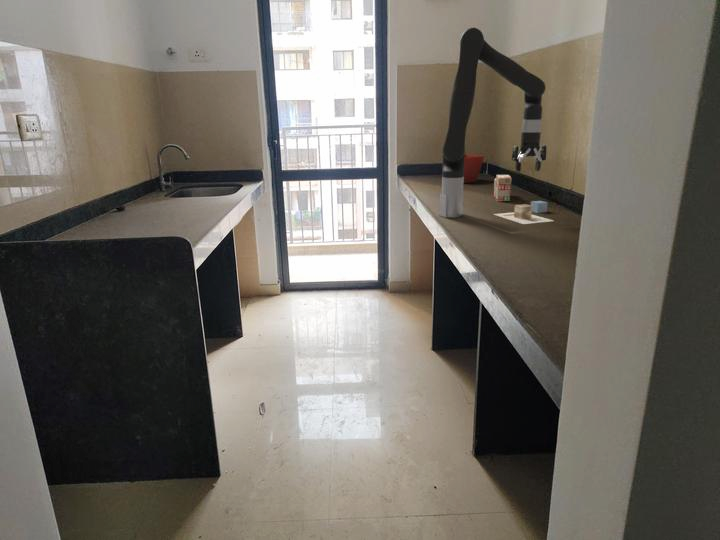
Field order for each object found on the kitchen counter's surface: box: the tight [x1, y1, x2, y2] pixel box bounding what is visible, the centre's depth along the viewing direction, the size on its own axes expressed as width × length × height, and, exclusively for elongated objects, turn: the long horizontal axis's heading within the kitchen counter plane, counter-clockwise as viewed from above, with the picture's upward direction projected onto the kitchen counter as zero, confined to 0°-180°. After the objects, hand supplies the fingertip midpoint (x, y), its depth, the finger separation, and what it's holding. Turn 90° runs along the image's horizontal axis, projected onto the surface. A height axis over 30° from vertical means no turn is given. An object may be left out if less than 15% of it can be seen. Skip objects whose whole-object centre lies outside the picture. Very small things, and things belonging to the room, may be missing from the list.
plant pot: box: [463, 153, 485, 184], centre depth 317 cm, size 19×19×17 cm
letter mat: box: [492, 212, 554, 225], centre depth 206 cm, size 15×22×1 cm
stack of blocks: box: [493, 174, 512, 202], centre depth 254 cm, size 21×6×12 cm, turn 170°
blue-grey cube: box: [530, 200, 548, 214], centre depth 217 cm, size 5×5×5 cm
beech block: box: [513, 203, 533, 219], centre depth 205 cm, size 5×5×5 cm
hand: (527, 171), depth 204 cm, fingers open, 8 cm apart
